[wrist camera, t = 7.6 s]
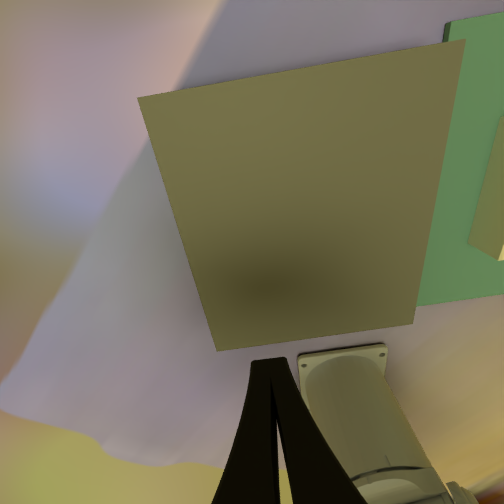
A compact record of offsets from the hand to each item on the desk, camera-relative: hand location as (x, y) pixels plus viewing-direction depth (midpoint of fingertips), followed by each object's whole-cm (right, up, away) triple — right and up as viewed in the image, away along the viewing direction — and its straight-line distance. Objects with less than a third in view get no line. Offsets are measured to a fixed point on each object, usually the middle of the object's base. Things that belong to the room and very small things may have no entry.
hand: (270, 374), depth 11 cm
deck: (+2, +7, +7) cm, 10 cm away
